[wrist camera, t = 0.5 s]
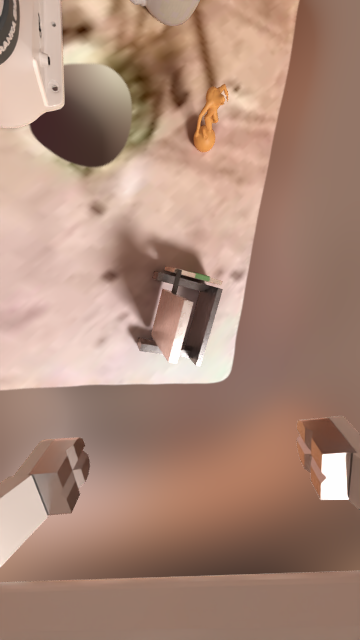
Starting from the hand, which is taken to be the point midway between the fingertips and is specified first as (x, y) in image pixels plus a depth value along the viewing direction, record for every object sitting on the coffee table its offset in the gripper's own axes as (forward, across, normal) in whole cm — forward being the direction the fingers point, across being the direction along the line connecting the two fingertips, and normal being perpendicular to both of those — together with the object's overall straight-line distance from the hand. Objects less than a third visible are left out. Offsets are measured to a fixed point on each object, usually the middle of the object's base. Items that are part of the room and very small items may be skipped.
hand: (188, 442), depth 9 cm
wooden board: (+41, +6, +3) cm, 42 cm away
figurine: (+47, -4, -26) cm, 54 cm away
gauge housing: (+44, +5, +7) cm, 45 cm away
